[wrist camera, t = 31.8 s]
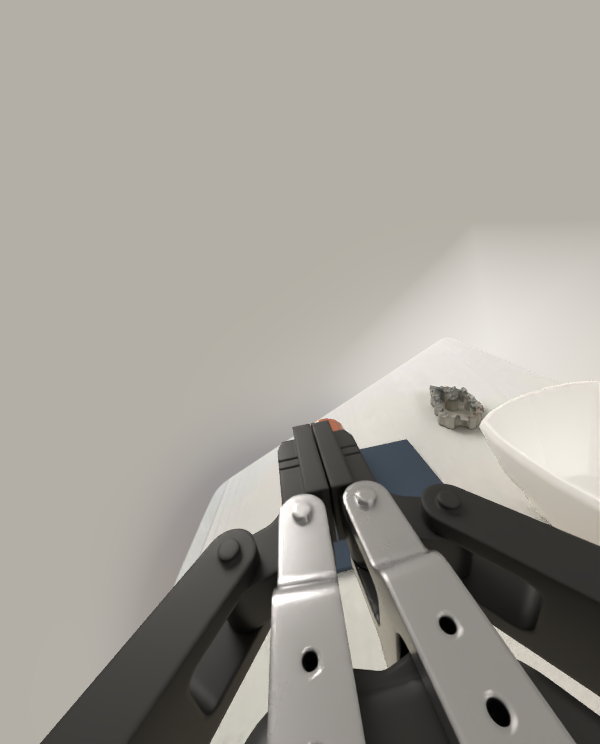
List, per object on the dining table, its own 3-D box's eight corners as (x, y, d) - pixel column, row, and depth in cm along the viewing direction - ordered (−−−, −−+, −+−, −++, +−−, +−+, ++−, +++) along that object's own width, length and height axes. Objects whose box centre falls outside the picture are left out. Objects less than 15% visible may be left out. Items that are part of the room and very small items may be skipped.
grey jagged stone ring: (484, 430, 48) (486, 410, 46) (435, 429, 50) (436, 409, 48) (468, 399, 57) (470, 381, 55) (428, 399, 59) (428, 382, 58)
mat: (310, 579, 30) (309, 576, 30) (292, 466, 47) (291, 464, 47) (483, 537, 31) (484, 533, 31) (406, 442, 48) (406, 439, 48)
